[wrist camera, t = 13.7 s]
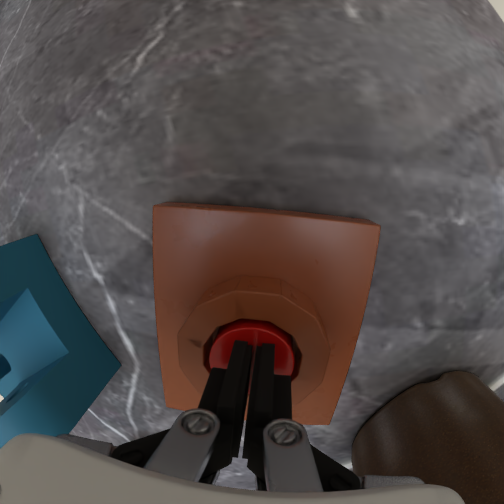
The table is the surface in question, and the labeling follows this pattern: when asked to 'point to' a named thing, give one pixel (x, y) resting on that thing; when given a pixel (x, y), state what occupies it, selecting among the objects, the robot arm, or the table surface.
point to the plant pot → (439, 438)
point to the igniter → (260, 293)
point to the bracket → (44, 347)
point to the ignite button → (255, 336)
